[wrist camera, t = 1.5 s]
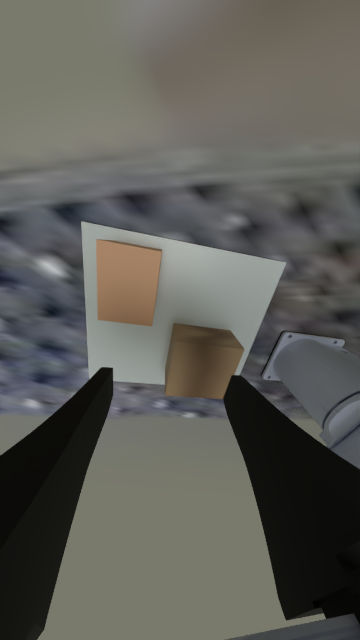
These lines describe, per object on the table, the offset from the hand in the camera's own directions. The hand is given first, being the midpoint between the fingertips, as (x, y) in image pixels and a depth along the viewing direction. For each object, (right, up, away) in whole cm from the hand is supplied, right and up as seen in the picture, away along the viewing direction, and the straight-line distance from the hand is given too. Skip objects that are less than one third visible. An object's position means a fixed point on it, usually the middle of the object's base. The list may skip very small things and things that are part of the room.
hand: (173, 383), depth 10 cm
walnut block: (+2, 0, +11) cm, 11 cm away
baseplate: (0, +3, +10) cm, 11 cm away
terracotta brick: (-4, +8, +7) cm, 11 cm away
